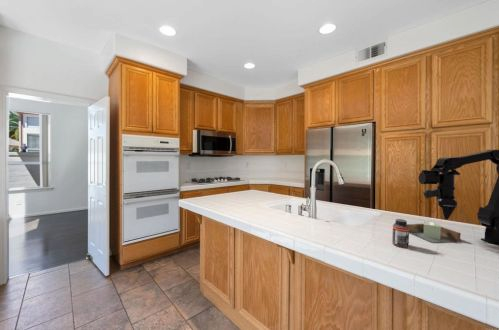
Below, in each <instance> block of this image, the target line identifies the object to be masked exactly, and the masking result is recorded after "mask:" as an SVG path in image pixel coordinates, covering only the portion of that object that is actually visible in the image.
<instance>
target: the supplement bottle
mask: <svg viewBox="0 0 499 330" xmlns="http://www.w3.org/2000/svg"><path fill="white" fill-rule="evenodd" d="M406 224H408V222H407V220H406V219H401V218H396V219H395V222H394V224H393V225H392V244H393V246H395V247H398V248H408V247H409V244H410V233H409V227H408V226H407V225H406Z"/></svg>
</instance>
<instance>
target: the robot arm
mask: <svg viewBox="0 0 499 330" xmlns="http://www.w3.org/2000/svg"><path fill="white" fill-rule="evenodd" d="M483 161H490V162H491V163H492V164H495V165H496V169H495V171H496V172H497V175H498V176H497V178H496V182H495V184H494V186H493V189H492V192H491V195H490V197H489V200H488V203H487V205H485V206H484V207H483V206H480V207H479V208H478V212H477V213H476V216H477V218H476V219H477V220H478V221H479V222H480V225H481V226H482V227H484V237H482V238H480V240H481V241H484V242H486V243H490V244H493V245H497V246H499V149H486V150H482V151H479V152H474V153H470V154H465V155H461V156H447V157H440V158H438V159H437V160H436V161H435V164H434V165H433V166H432V168H431V169H429V170H427V169H420V170H421V172H420V173H419V176H418V182H419V184H421V185H437V186H436V188H432V189H426V190H423V191H422V194H423V196H424V198H425V199H431V198H436V201H437V205H438V207H440V208H441V210H442V215H443V218H444V220H446V221H447V220H449V219H450V217H451V215H452V214H453V212H454V211H455V210H456V208H457V206H458V201H457V200H456V196H455V190H456V187H455V177H456V176H459V175H461V172H459V171H458V169H460V168H461V167H463V166H465V165H469V164H473V163H474V164H475V163H479V162H483Z"/></svg>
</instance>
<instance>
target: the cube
mask: <svg viewBox="0 0 499 330" xmlns="http://www.w3.org/2000/svg"><path fill="white" fill-rule="evenodd" d="M423 224H424V237H428V238H434V239H439V240H440V233H441V227H442V226H441V223H436V222H432V221H429V222H428V221H424V222H423Z"/></svg>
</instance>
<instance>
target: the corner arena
mask: <svg viewBox="0 0 499 330" xmlns="http://www.w3.org/2000/svg"><path fill="white" fill-rule="evenodd" d="M406 225H407V226H408V227H409V235H412V236H414V237H417V238H419V239H422V240H424V241H427V242H429V243H431V244H440V243H460V242H461V236H462V235H461V232H458V231H455V230H453V229H449V228H447V227H444V226H441V233H440V240H439V239H434V238H428V237H424V223H407V224H406Z"/></svg>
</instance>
